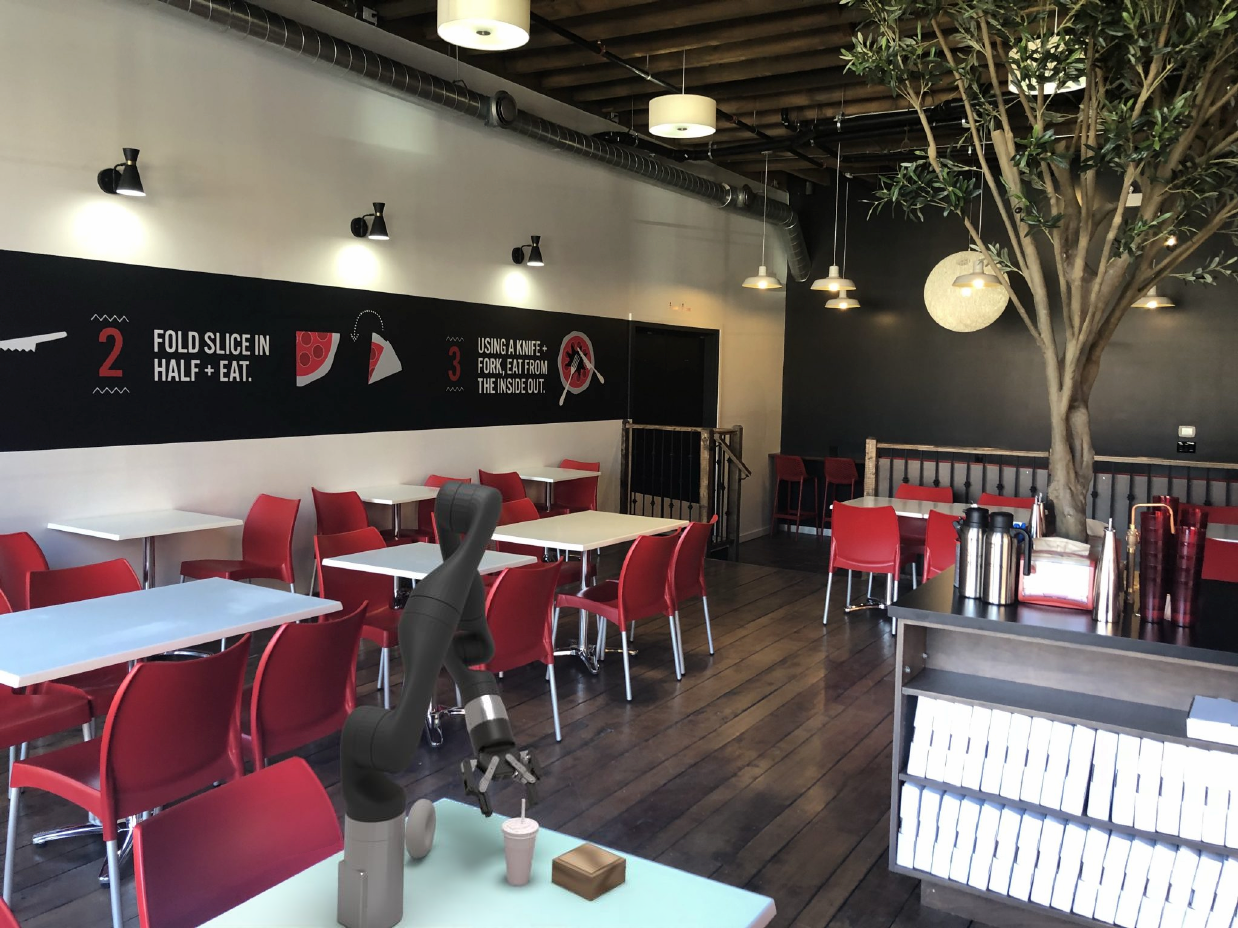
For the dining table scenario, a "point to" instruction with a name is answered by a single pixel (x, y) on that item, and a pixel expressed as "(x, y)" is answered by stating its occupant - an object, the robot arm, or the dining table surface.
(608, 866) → the base
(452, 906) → the dining table surface
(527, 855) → the smoothie
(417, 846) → the donut
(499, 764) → the robot arm
